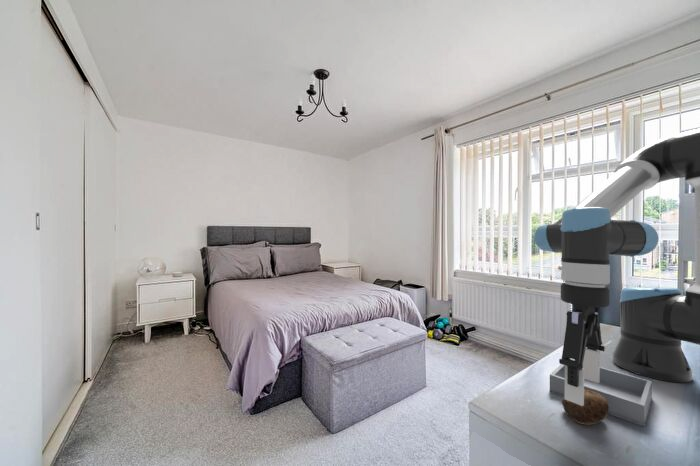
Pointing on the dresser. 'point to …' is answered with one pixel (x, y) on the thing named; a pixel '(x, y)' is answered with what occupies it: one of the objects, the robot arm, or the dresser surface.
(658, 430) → the dresser surface
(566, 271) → the robot arm
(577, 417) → the mushroom
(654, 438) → the dresser surface
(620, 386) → the tray
